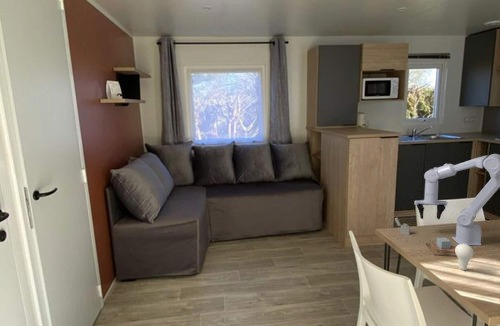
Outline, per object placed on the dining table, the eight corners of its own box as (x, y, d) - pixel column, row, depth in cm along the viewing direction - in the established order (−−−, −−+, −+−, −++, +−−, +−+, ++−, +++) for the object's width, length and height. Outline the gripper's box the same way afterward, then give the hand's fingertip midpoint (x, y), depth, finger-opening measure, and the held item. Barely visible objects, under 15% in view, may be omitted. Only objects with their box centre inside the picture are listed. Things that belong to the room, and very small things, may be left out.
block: (445, 246, 142) (445, 237, 141) (450, 250, 138) (450, 241, 137) (436, 246, 142) (436, 237, 141) (441, 250, 138) (441, 241, 137)
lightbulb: (466, 275, 119) (468, 249, 117) (450, 268, 124) (452, 243, 123) (475, 271, 122) (477, 245, 120) (459, 264, 127) (460, 239, 125)
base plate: (451, 245, 144) (452, 241, 143) (462, 257, 133) (462, 252, 133) (426, 244, 146) (426, 240, 146) (434, 255, 136) (434, 251, 135)
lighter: (409, 233, 159) (410, 219, 158) (409, 234, 158) (409, 220, 157) (394, 231, 164) (395, 217, 162) (394, 232, 162) (394, 218, 161)
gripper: (444, 190, 156) (442, 216, 159) (413, 190, 160) (412, 215, 162) (449, 194, 150) (448, 221, 152) (417, 194, 153) (416, 220, 155)
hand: (429, 218), depth 156 cm, fingers open, 7 cm apart
